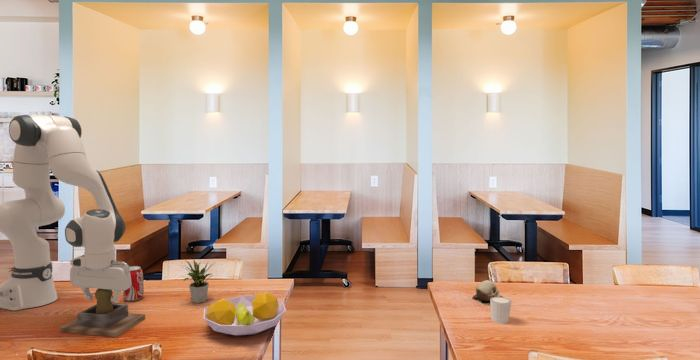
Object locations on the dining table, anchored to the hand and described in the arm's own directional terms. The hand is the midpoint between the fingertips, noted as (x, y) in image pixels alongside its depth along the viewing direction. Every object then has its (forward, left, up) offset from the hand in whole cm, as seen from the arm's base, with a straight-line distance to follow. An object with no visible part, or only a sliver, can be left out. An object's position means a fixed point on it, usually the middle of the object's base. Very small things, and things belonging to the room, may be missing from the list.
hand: (101, 300), depth 155 cm
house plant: (+18, +27, -8) cm, 34 cm away
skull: (+128, +49, -9) cm, 137 cm away
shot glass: (+129, +30, -8) cm, 133 cm away
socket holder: (0, 0, -8) cm, 8 cm away
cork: (+1, 0, -7) cm, 7 cm away
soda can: (-6, +24, -8) cm, 26 cm away
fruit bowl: (+47, +7, -9) cm, 48 cm away
